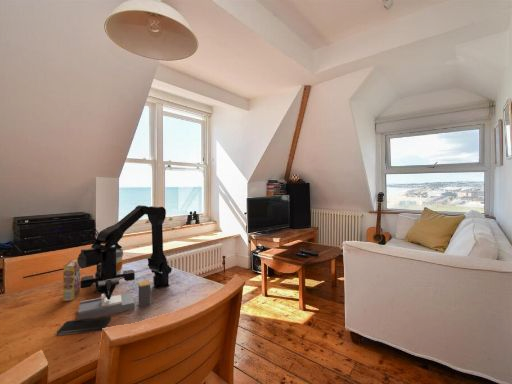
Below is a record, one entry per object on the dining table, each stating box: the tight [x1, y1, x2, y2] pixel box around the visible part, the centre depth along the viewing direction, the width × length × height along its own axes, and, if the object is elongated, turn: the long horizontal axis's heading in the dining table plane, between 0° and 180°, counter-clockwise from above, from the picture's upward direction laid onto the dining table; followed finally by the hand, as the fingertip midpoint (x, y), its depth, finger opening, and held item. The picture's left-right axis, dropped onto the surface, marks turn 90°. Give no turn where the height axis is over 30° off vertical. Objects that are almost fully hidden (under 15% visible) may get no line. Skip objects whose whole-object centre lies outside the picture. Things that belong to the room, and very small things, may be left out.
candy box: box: [62, 259, 81, 302], centre depth 114 cm, size 9×4×15 cm, turn 20°
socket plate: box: [77, 292, 136, 320], centre depth 104 cm, size 19×11×3 cm, turn 121°
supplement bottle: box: [94, 271, 111, 294], centre depth 121 cm, size 7×7×12 cm
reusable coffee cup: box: [98, 248, 124, 274], centre depth 134 cm, size 13×13×15 cm
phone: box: [56, 316, 112, 336], centre depth 91 cm, size 8×1×15 cm
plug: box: [138, 280, 151, 308], centre depth 108 cm, size 4×4×9 cm
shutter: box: [101, 293, 122, 306], centre depth 104 cm, size 7×7×3 cm
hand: (108, 299), depth 104 cm, fingers closed
